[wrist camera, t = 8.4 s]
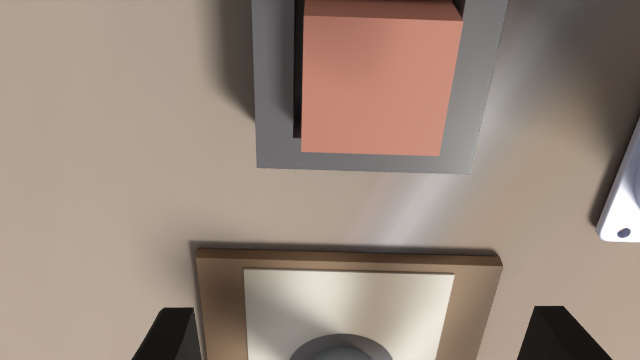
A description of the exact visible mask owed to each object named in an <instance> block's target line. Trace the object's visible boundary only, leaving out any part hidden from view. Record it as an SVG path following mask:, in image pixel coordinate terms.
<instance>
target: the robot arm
mask: <svg viewBox="0 0 640 360" xmlns="http://www.w3.org/2000/svg"><path fill="white" fill-rule="evenodd" d="M623 228H625V229H624V230H623V231H620V232H619V230H621V229H623ZM596 232H597V234H598V236H599V238H600V239H602V240H603V241H615V242H640V118H639V120H638V123H637V125H636V128H635V130H634V133H633V135H632V138H631V140H630V143H629V146H628V148H627V151H626V153H625V156H624V158H623V161H622V163H621V166H620V168H619V171H618V173H617V176H616V178H615V181H614V183H613V186H612V188H611V191H610V193H609V196H608V198H607V201H606V204H605V206H604V209H603V211H602V214H601V216H600V219H599V221H598V224H597V226H596ZM132 360H202V359H201V353H200V346H199V340H198V333H197V327H196V320H195V314H194V308H163V309H162V310H161V311H160V312H159V313H158V315H157V317H156V319H155V321H154V323H153V325H152V326H151V328H150V330H149V332H148V333H147V335H146V337H145V339H144V340H143V342H142V344H141V345H140V347H139V349H138V350H137V352H136V353H135V355H134V357H133V358H132ZM517 360H612V359H611V357H610V356H609V355H608V354H607V353H606V352H605V351H604V350H603V349H602V348H601V347H600V346H599V344H598V343H597V342H596V341H595V340H594V339H593V338H592V337H591V336H590V335H589V334H588V332H587V331H586V330H585V329H584V328H583V327H582V326H581V325H580V324H579V323H578V321H577V320H576V319H575V318H574V317H573V316H572V315H571V314H570V313H569V312H568V311H567V310H566V308H565V307H564V306H535V307H534V310H533V313H532V316H531V319H530V322H529V325H528V328H527V331H526V334H525V337H524V340H523V343H522V346H521V349H520V352H519V355H518V358H517Z"/></svg>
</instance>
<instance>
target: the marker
mask: <svg viewBox="0 0 640 360" xmlns="http://www.w3.org/2000/svg"><path fill="white" fill-rule="evenodd" d="M309 360H373V359H372V358H371V357H370V356H369V355H368V354H367V353H365V352H363V351H361V350H359V349H356V348H351V347H332V348H327V349H324V350H322V351H319V352H318V353H316V354H315V355H313V356H312V357H311V358H310V359H309Z"/></svg>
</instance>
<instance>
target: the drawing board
mask: <svg viewBox="0 0 640 360" xmlns="http://www.w3.org/2000/svg"><path fill="white" fill-rule="evenodd" d="M196 265H197V274H198V282H199V291H200V300H201V308H202V317H203V325H204V334H205V342H206V351H207V359H208V360H309V359H310V358H311V357H312V356H313V355H315V354H316V353H318V352H319V351H322V350H324V349H327V348H332V347H351V348H356V349H359V350H361V351H363V352H365V353H367V354H368V355H369V356H370V357H371V358H372V359H373V360H476V357H477V354H478V351H479V347H480V344H481V340H482V337H483V334H484V330H485V327H486V323H487V320H488V316H489V313H490V310H491V306H492V303H493V299H494V296H495V293H496V289H497V286H498V282H499V279H500V276H501V272H502V269H503V264H502V262H501V259H500V257H492V256H456V255H420V254H385V253H349V252H313V251H277V250H241V249H205V248H198V251H197V254H196Z"/></svg>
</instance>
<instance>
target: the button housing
mask: <svg viewBox="0 0 640 360" xmlns="http://www.w3.org/2000/svg"><path fill="white" fill-rule="evenodd" d="M451 1H452V2H453V4H454V6H455V8H456V9H457V11H458V13H459V14H460V16H461V18H462V20H463V27H462V32H461V38H460V43H459V49H458V55H457V60H456V66H455V71H454V77H453V82H452V88H451V93H450V99H449V104H448V110H447V115H446V121H445V127H444V132H443V138H442V143H441V149H440V154H439V156H417V155H385V154H353V153H320V152H301V132H302V81H303V30H304V6H305V0H251V4H252V35H253V66H254V96H255V127H256V158H257V168H276V169H309V170H342V171H375V172H407V173H440V174H470V173H471V168H472V164H473V159H474V155H475V150H476V146H477V141H478V137H479V132H480V128H481V123H482V119H483V114H484V109H485V105H486V100H487V96H488V91H489V87H490V82H491V78H492V73H493V69H494V64H495V60H496V55H497V51H498V46H499V42H500V37H501V33H502V28H503V24H504V19H505V15H506V10H507V6H508V1H509V0H451Z"/></svg>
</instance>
